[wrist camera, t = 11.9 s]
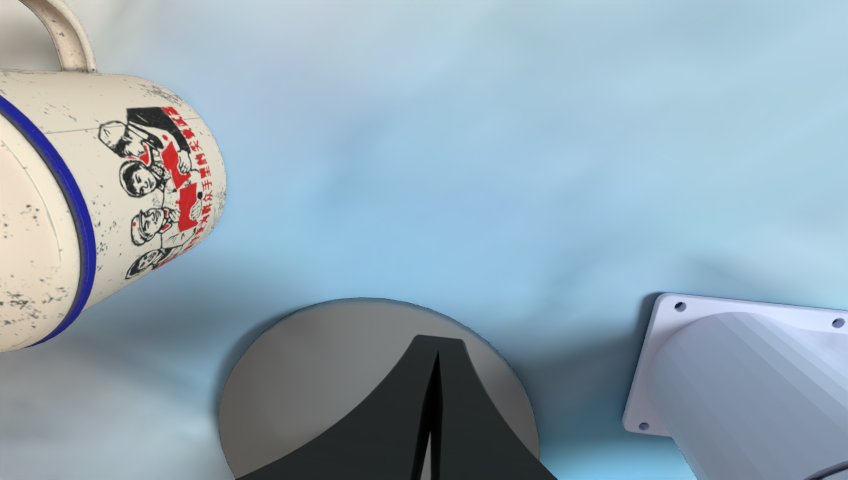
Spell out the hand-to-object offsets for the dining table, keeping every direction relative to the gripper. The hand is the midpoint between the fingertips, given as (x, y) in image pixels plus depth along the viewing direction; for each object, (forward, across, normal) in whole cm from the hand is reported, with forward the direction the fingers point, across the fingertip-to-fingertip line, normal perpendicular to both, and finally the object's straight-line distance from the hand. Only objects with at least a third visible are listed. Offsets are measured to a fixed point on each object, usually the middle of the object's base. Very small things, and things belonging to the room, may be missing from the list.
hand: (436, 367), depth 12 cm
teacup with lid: (+10, +15, -4) cm, 18 cm away
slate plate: (+9, +3, +12) cm, 16 cm away
